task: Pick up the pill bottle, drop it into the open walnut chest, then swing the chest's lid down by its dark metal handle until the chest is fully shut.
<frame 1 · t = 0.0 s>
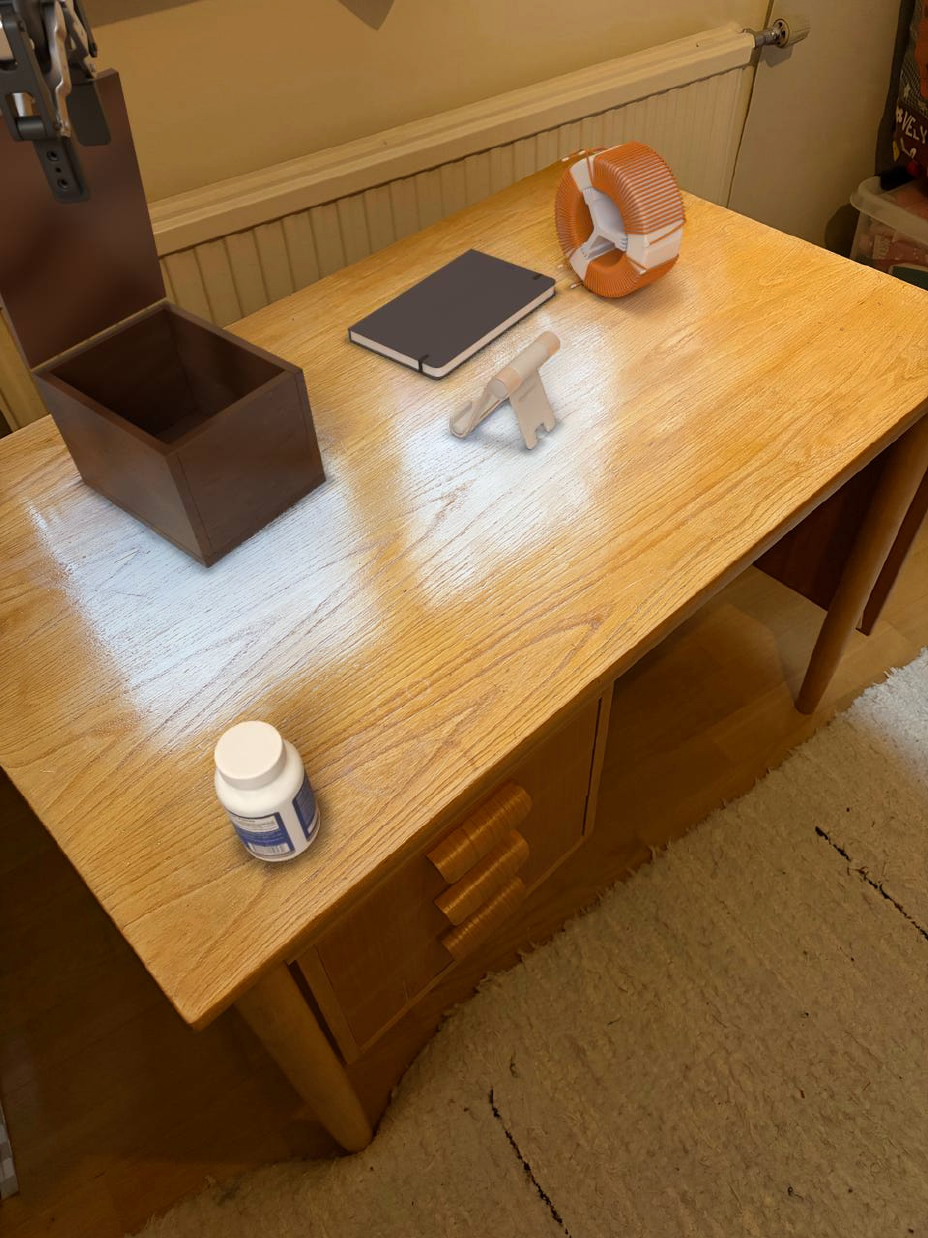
hand: (87, 170, 57), 29 cm above the table, tool pointing down, fingers open, 8 cm apart
chest: (204, 481, 81), on the table
tablet stand: (508, 426, 85), on the table
lid: (50, 215, 68), point 22 cm above the table, hinge at 80.0°
notebook: (456, 317, 98), on the table
pill bottle: (281, 827, 58), on the table
coil: (610, 289, 100), on the table
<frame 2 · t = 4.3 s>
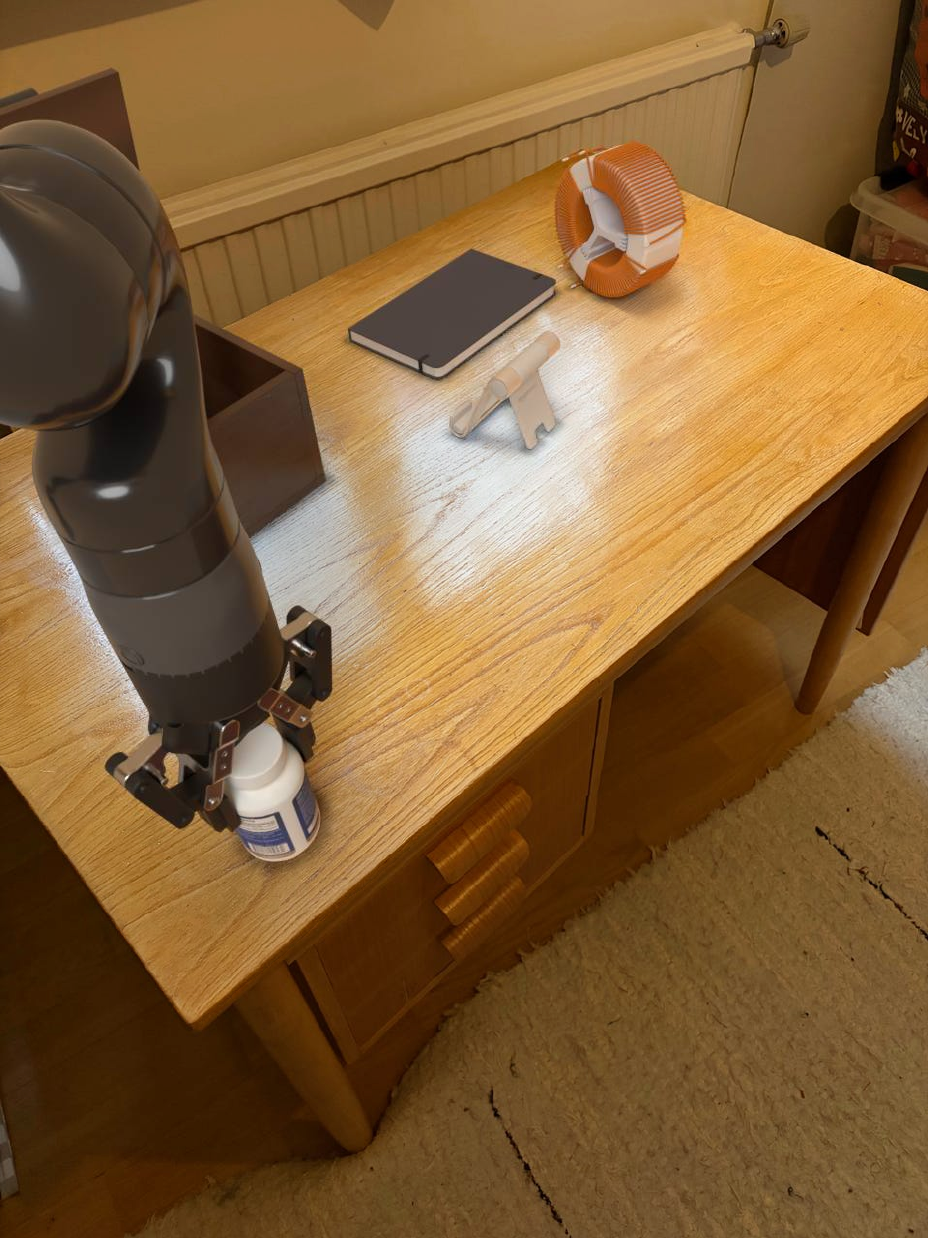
hand: (263, 785, 54), 5 cm above the table, tool pointing down, fingers closed on pill bottle, 5 cm apart
pill bottle: (281, 827, 58), on the table, touching gripper
everything else where it was.
when the fingers open (8 cm above the table, at t = 12.2 s): pill bottle drops 2 cm, resting on chest.
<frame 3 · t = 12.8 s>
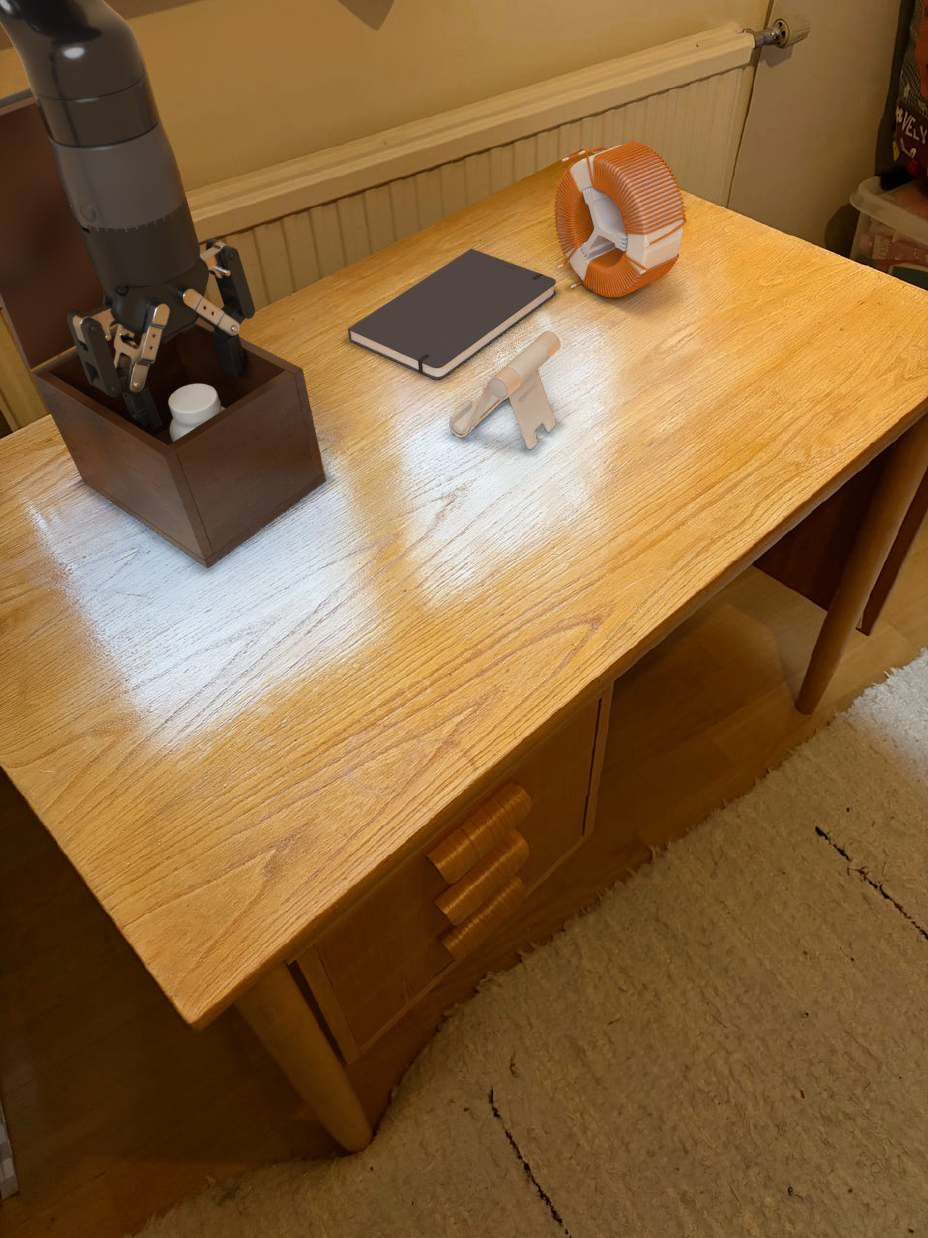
hand: (193, 398, 72), 11 cm above the table, tool pointing down, fingers open, 8 cm apart
pill bottle: (222, 489, 79), point 1 cm above the table, touching chest
everything else where it was.
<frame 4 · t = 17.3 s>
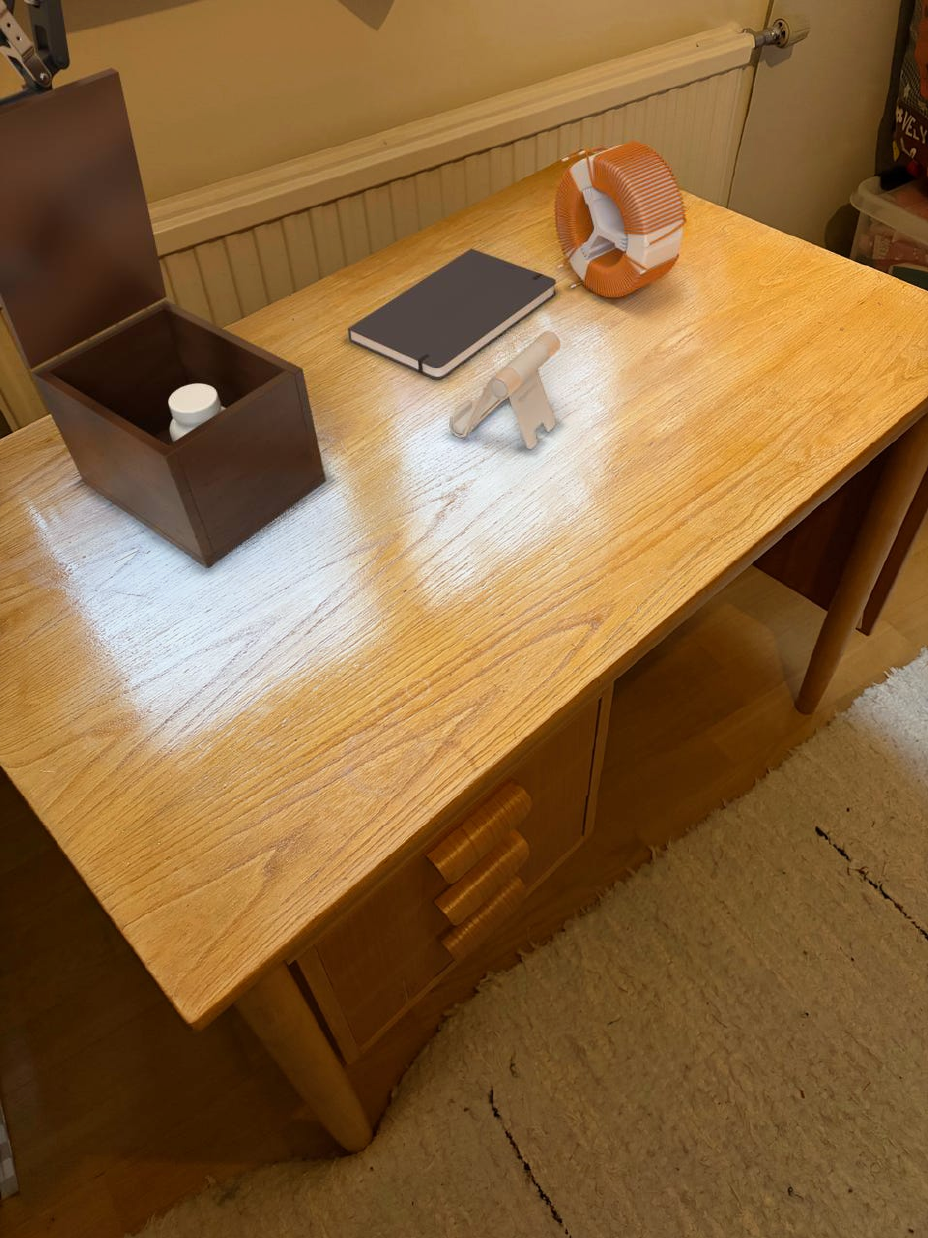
hand: (20, 152, 65), 27 cm above the table, tool pointing down, fingers closed on lid, 5 cm apart
lid: (50, 215, 68), point 22 cm above the table, hinge at 80.0°, touching gripper
everything else where it was.
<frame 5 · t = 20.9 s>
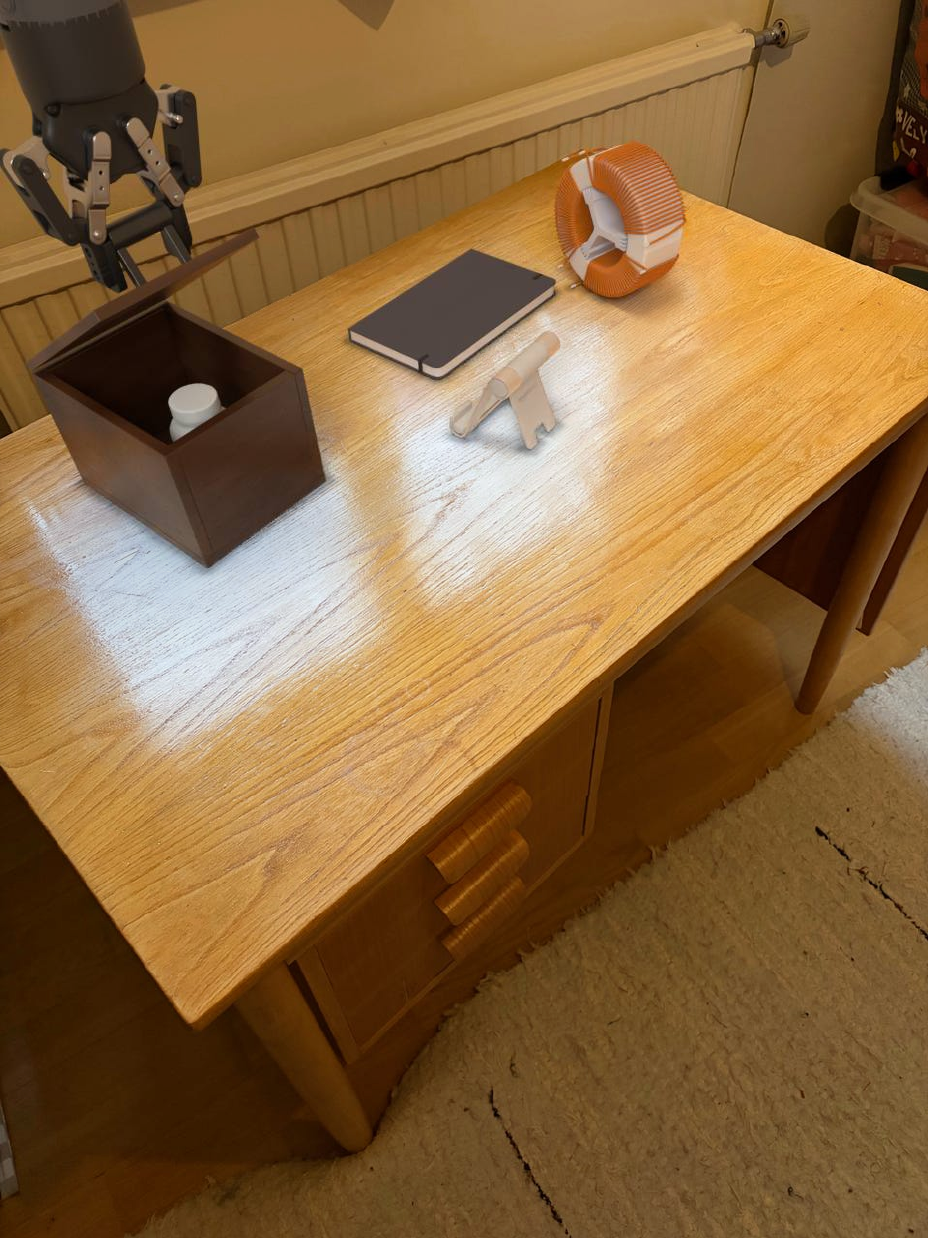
hand: (147, 270, 64), 21 cm above the table, tool pointing down, fingers closed on lid, 5 cm apart
lid: (118, 276, 67), point 19 cm above the table, hinge at 32.8°, touching gripper
everything else where it was.
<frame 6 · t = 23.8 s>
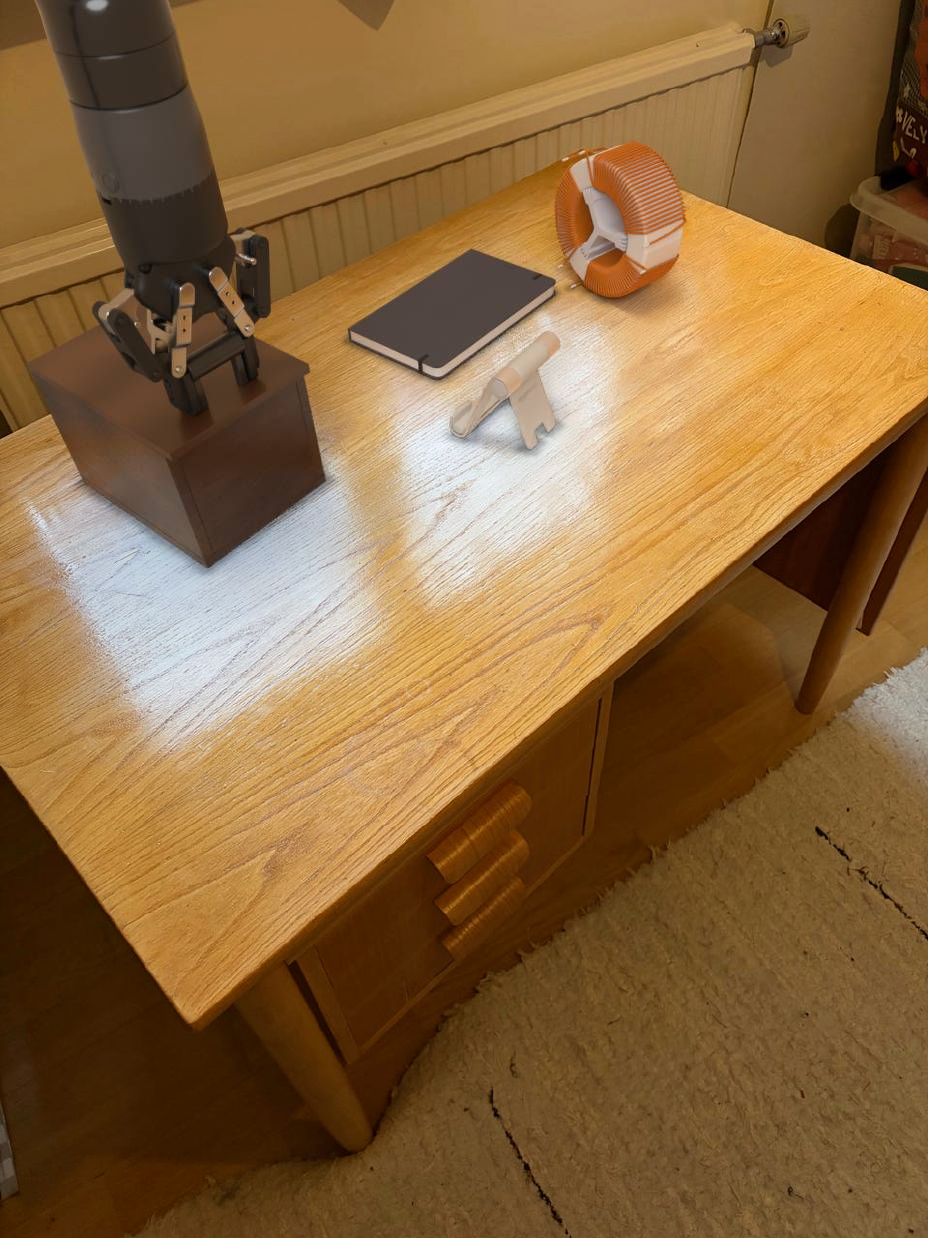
hand: (218, 392, 68), 13 cm above the table, tool pointing down, fingers closed on lid, 5 cm apart
lid: (159, 343, 70), point 15 cm above the table, hinge at -0.2°, touching chest, gripper
everything else where it was.
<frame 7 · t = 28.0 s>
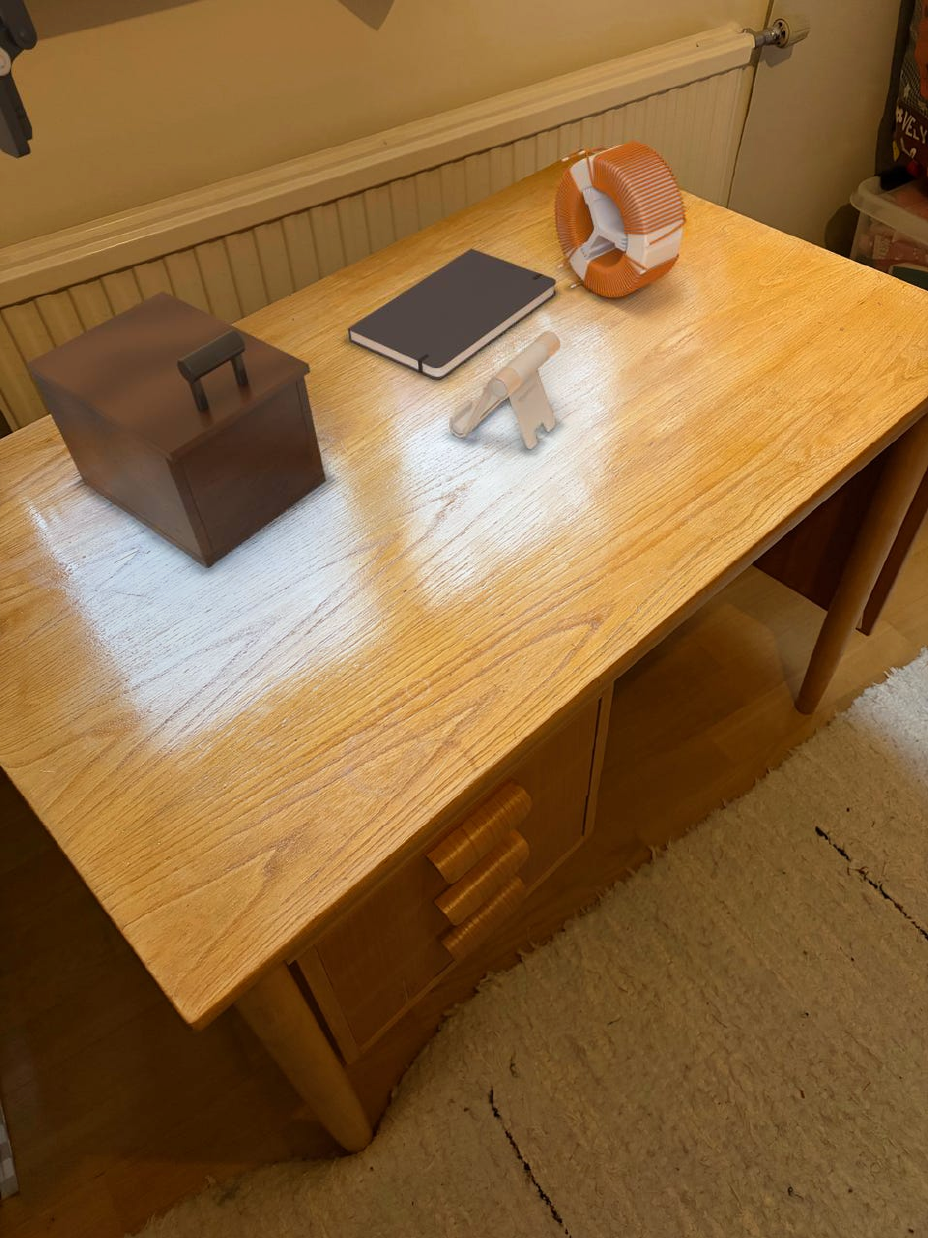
lid: (159, 343, 70), point 15 cm above the table, hinge at -0.2°, touching chest
everything else where it was.
at the end: pill bottle inside the target area in the chest (3.1 cm from its centre), point 0.8 cm above the chest's base; lid at +0° (first picture: +80°) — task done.
